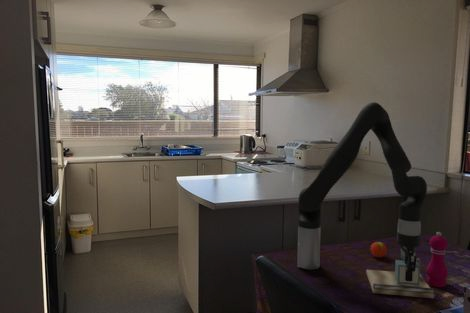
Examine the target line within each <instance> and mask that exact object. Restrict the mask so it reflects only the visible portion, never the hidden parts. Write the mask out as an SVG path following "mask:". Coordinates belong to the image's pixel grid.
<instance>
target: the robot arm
mask: <svg viewBox="0 0 470 313" xmlns="http://www.w3.org/2000/svg"><path fill="white" fill-rule="evenodd" d="M370 131H372V132H373V133H374V135H375V136H376V138H377V140H378V141H379V144H380V145H381V150H382V153H383V157H384V159H385V161H386V162H387V165H388V166H389V169H390V170H391V174H392V181H393V186H394V190H395V191H396V193H397V194H398V195H399V196H401V197H405V198H406V197H407V199H406V200H405V201H403V202H401V203H400V204H399V207H398V221H397V231H396V232H397V233H396V243H397V244H398V245H399V249H400V250H399V251H400V252H399V254H400V255H399V256H400V257H399V258H400V259H399V260H402V261H404V264H405V270H406V273H405V280H406V281H412V276H413V271H415V267H416V259H417V258H418V257H417V255H416V251H415V248H418V247H420V246H421V233H422V232H421V230H422V226H421V214H422V213H421V211H422V208H423V204H424V201H425V199H426V195H427V190H428V185H427V182H426V180H425V179H424V177H422V176H419V175H413V176H412V175H411V176H408V174H407V173H408V172H409V171H411V169H412V164H411V161H410V160H409V157H408V156H407V154H406V152H405V151H404V149H403V147H402V145H401V143H400V142H399V140H398V139H397V136H396V133H395V131H394V129H393V126H392V122H391V118H390V115H389V113H388V112H387V110H386V109H385V108H384V107H383V106H382V105H381V104H380V103H378V102H374V101H373V102H369V103H367V104H366V105H364V106H363V107H362V109H361V110H360V112H359V113H358V114H357V116H356V118H355V119H354V121H353V122H352V124H351V126H350V127H349V128H348V130H347V132H346V133H345V134H344V136H343V137H342V138H341V140H340V141H339V143H337V145H336V146H335V148H333V150H332V151H331V153H330V154H329V155H328V157H327V158H326V160H325V161H324V163H323V164H322V167H321V168H320V170H319V172H318V174H317V176H316V177H315V179H314V180H313V181H312V182H311V184H309V185H308V186H307V187H305V188H303V189H302V190H301V191H300V192H299V196H298V217H297V218H298V219H297V225H298V226H297V228H298V229H297V258H296V259H297V260H296V261H297V263H296V264H297V265H296V267H297V268H301V269H304V270H317V269H319V268H320V265H321V264H320V263H321V261H320V256H321V222H322V220H321V218H322V217H321V216H322V214H321V212H322V211H321V209H322V204H323V202H324V200H325V199H326V197H327V195H328V194H329V192H330V191H331V189H332V188H333V187H334V185H336V184H337V183H338V181H340V179H341V178H342V177H343V176H344V175H345V174H346V172H347V171H348V170H349V169H350V168H351V166H352V165H353V164H354V162H355V161H356V159H357V157H358V155H359V152H360V148H361V145H362V143H363V141H364V138H365V137H366V136H367V134H368V133H369V132H370ZM407 261H408V262H407ZM409 266H411V268H409Z"/></svg>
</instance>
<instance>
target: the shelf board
mask: <svg viewBox="0 0 470 313" xmlns="http://www.w3.org/2000/svg"><path fill="white" fill-rule="evenodd" d="M366 276H367V279H368V282H369V284H370V289H371V290H372V293H373V294H381V295H394V296H405V297H415V298H416V297H417V298H429V299H435V291H436V290H435V288H432V287H431V286H430V285H429V284H428V282H427V280H425V278H424V277H423V276H422V275H421V273H420V281H419V285H406V284H397V282H396V280H395V271H392V270H391V271H390V270H389V271H388V270H387V271H386V270H376V269H366Z"/></svg>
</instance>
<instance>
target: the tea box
mask: <svg viewBox="0 0 470 313" xmlns="http://www.w3.org/2000/svg"><path fill="white" fill-rule="evenodd" d="M407 262H408V261H407ZM409 268H411V266H409ZM394 272H395V280H396V282H397V284H406V285H419V281H420V274H421V264H420V265H419V264H418V263H417V261H416V267H415V271H413V276H412V281H406V280H405V273H406V270H405V264H404V261H402V260H400V259H395V266H394Z"/></svg>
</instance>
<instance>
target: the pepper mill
mask: <svg viewBox="0 0 470 313" xmlns="http://www.w3.org/2000/svg"><path fill="white" fill-rule="evenodd" d="M448 244H449V243H448V240H447V239H446V237H444V236H442V232H440V231H437V232H436V234H435V235H433V236H432V237H430V238H429V245H430V253H431V260H430V262H429V263H428V265H427V267H426V275H427V278H426V283H427V284H428V285H429V286H433V287H436V288H444V287H446V285H447V280H446V279H447V278H448V276H449V272H448V268H447V266H446V263H445V260H444V259H445V255H446V251H447V250H446V248H448Z"/></svg>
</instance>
